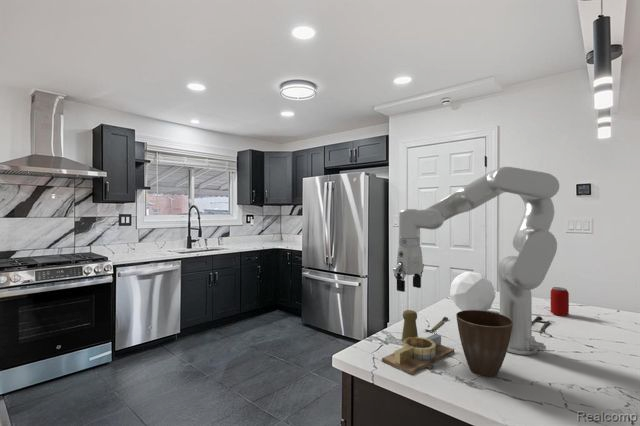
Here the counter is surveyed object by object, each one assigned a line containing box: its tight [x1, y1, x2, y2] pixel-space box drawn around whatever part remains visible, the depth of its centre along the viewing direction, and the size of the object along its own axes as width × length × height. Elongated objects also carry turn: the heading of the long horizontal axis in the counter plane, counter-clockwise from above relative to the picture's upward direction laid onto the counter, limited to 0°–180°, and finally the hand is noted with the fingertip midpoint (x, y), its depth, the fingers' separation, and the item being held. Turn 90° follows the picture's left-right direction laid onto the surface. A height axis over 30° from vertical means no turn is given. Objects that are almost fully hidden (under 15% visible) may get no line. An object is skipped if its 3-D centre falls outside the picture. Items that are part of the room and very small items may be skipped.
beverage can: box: [550, 286, 570, 317], centre depth 151 cm, size 7×7×12 cm
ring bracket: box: [394, 333, 442, 365], centre depth 107 cm, size 23×10×4 cm, turn 129°
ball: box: [449, 271, 496, 311], centre depth 154 cm, size 19×20×20 cm
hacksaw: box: [532, 315, 556, 338], centre depth 134 cm, size 24×10×2 cm, turn 133°
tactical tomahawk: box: [424, 316, 449, 335], centre depth 135 cm, size 21×7×1 cm, turn 140°
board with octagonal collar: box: [381, 344, 455, 375], centre depth 107 cm, size 24×11×1 cm, turn 129°
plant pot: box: [455, 310, 513, 378], centre depth 97 cm, size 15×15×16 cm
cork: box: [401, 309, 419, 342], centre depth 120 cm, size 6×6×11 cm
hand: (408, 289), depth 120 cm, fingers open, 9 cm apart
